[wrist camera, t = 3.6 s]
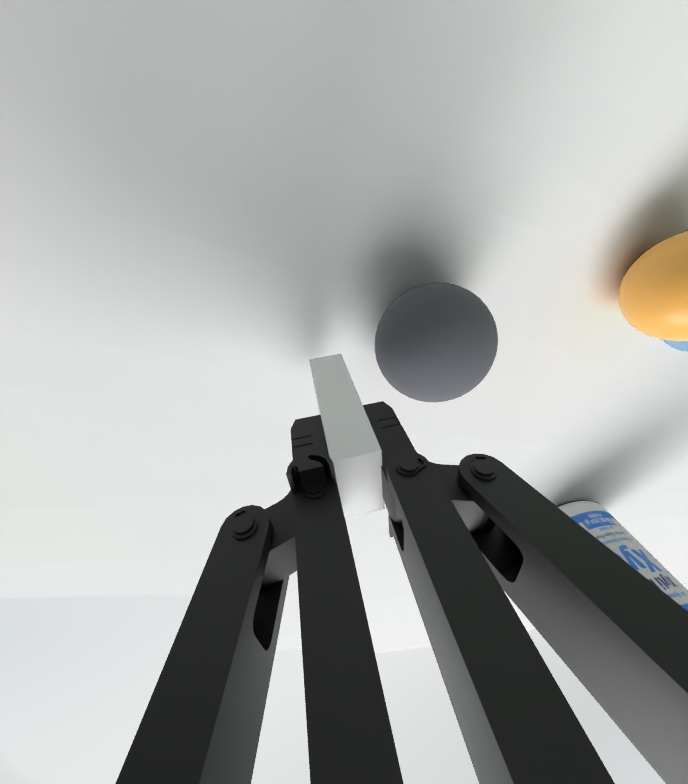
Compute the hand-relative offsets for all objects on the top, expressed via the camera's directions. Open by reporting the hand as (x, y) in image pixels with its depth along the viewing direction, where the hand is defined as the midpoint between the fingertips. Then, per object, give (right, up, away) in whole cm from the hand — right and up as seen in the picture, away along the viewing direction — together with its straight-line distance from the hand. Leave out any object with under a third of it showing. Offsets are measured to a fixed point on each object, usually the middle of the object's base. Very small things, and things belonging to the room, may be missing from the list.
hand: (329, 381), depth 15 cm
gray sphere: (+5, +2, 0) cm, 5 cm away
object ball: (+19, +5, +1) cm, 19 cm away
